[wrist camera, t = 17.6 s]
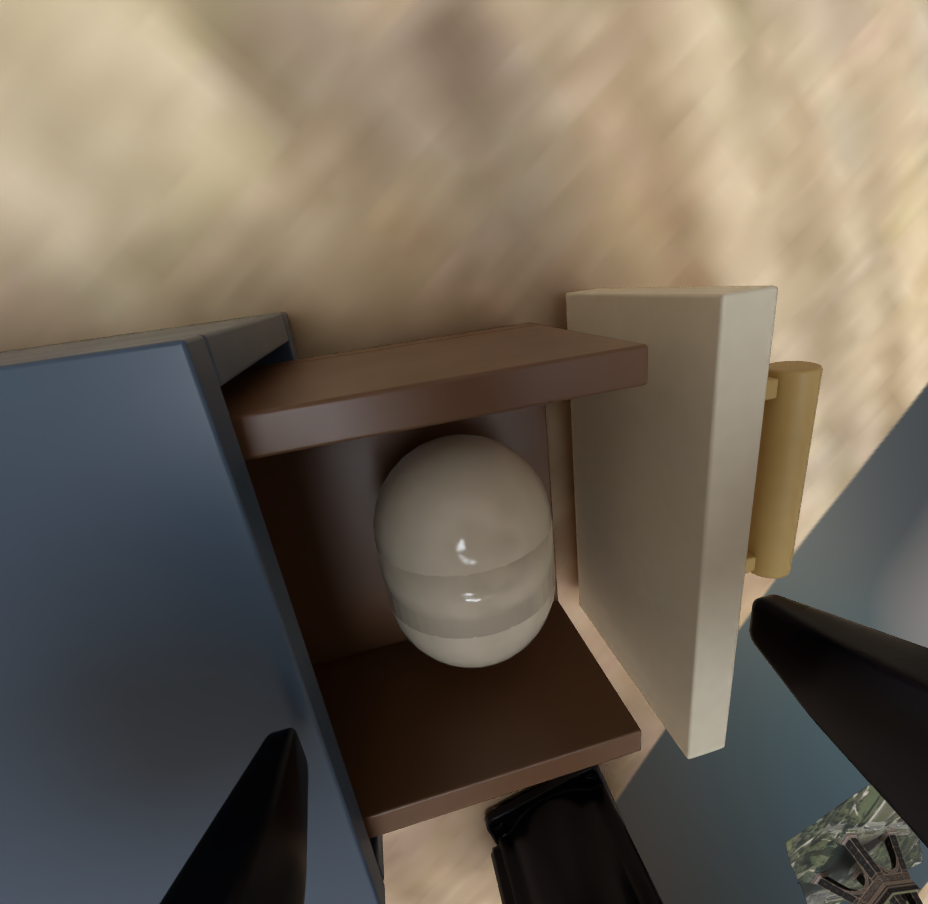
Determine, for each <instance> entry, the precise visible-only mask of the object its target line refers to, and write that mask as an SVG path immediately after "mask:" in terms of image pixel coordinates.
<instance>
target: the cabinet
mask: <svg viewBox="0 0 928 904" xmlns="http://www.w3.org/2000/svg"><path fill="white" fill-rule="evenodd" d="M297 359H298V356H297V352H296V348H295V344H294V340H293V336H292V333H291V329H290V325H289V321H288V317H287V314H286V313H285V312H281V313H274V314H267V315H260V316H252V317H245V318H238V319H231V320H224V321H217V322H210V323H203V324H196V325H189V326H181V327H174V328H167V329H160V330H153V331H146V332H139V333H132V334H125V335H118V336H111V337H103V338H96V339H89V340H82V341H75V342H68V343H61V344H54V345H47V346H40V347H33V348H25V349H18V350H11V351H4V352H0V904H160V902H161V900H162V899H163V897H164V896H165V894H166V893H167V891H168V889H169V888H170V886H171V885H172V883H173V882H174V880H175V879H176V877H177V875H178V874H179V872H180V871H181V869H182V868H183V866H184V865H185V863H186V861H187V860H188V858H189V857H190V855H191V854H192V852H193V850H194V849H195V847H196V846H197V844H198V843H199V841H200V840H201V838H202V836H203V835H204V833H205V832H206V830H207V829H208V827H209V826H210V824H211V822H212V821H213V819H214V818H215V816H216V815H217V813H218V811H219V810H220V808H221V807H222V805H223V804H224V802H225V801H226V799H227V797H228V796H229V794H230V793H231V791H232V790H233V788H234V786H235V785H236V783H237V782H238V780H239V779H240V777H241V776H242V774H243V772H244V771H245V769H246V768H247V766H248V765H249V763H250V762H251V760H252V758H253V757H254V755H255V754H256V752H257V751H258V749H259V747H260V746H261V744H262V743H263V741H264V740H265V738H266V737H267V736H268V735H269V734H270V733H272V732H276V731H279V730H283V729H286V728H294V729H295V730H296V732H297V734H298V737H299V739H300V742H301V745H302V748H303V750H304V753H305V756H306V759H307V763H308V829H307V875H306V890H305V902H304V904H385V887H384V883H383V880H384V864H383V839H382V835H379V836H376V837H373V838H370V839H369V837H368V834H367V831H366V828H365V825H364V822H363V819H362V816H361V813H360V810H359V807H358V804H357V801H356V798H355V795H354V792H353V789H352V785H351V782H350V779H349V776H348V773H347V770H346V767H345V764H344V761H343V758H342V755H341V752H340V749H339V746H338V743H337V740H336V737H335V734H334V731H333V728H332V725H331V722H330V719H329V716H328V713H327V710H326V707H325V704H324V701H323V698H322V695H321V691H320V688H319V685H318V682H317V679H316V676H315V673H314V670H313V667H312V664H311V661H310V658H309V655H308V652H307V649H306V646H305V643H304V640H303V637H302V634H301V631H300V628H299V625H298V622H297V619H296V616H295V613H294V610H293V607H292V604H291V601H290V597H289V594H288V591H287V588H286V585H285V582H284V579H283V576H282V573H281V570H280V567H279V564H278V561H277V558H276V555H275V552H274V549H273V546H272V543H271V540H270V537H269V534H268V531H267V528H266V525H265V522H264V519H263V516H262V513H261V510H260V507H259V504H258V500H257V497H256V494H255V491H254V488H253V485H252V482H251V479H250V476H249V473H248V470H247V467H246V464H245V461H244V458H243V455H242V452H241V449H240V446H239V443H238V440H237V437H236V434H235V431H234V428H233V425H232V422H231V419H230V416H229V413H228V410H227V406H226V403H225V400H224V397H223V394H222V391H221V388H220V386H222V385H224V384H225V383H226V382H228V381H229V380H231V379H232V378H234V377H235V376H237V375H238V374H240V373H241V372H243V371H244V370H246V369H247V368H249V367H252V366H259V365H265V364H271V363H278V362H284V361H290V360H297Z"/></svg>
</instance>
